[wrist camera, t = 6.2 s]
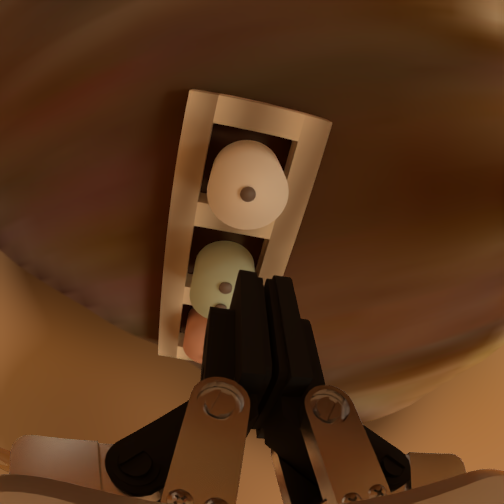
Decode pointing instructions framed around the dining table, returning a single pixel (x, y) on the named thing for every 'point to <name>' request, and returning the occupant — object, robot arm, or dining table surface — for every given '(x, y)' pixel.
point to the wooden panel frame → (196, 203)
